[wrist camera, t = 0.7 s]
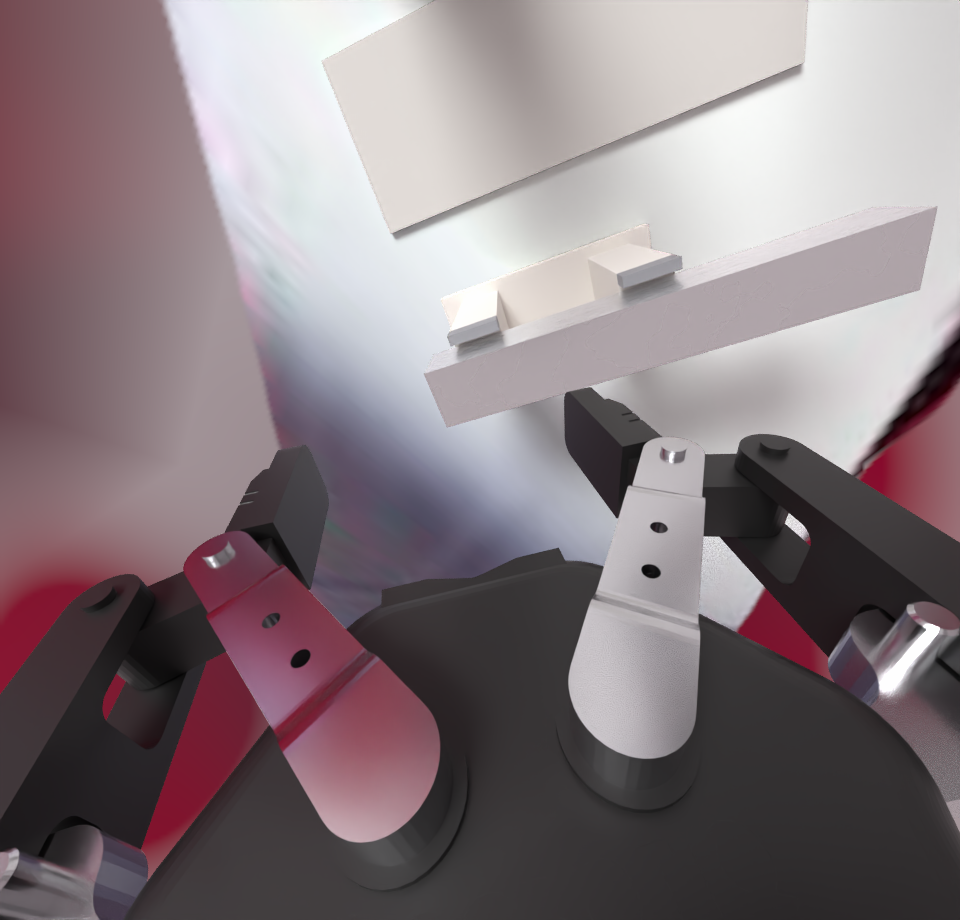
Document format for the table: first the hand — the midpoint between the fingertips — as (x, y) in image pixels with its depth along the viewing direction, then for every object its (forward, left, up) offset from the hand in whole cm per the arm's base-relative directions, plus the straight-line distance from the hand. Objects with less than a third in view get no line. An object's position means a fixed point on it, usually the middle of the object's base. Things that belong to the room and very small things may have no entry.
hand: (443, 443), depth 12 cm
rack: (+2, +5, -24) cm, 24 cm away
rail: (+2, +9, -14) cm, 17 cm away
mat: (-12, +9, -24) cm, 28 cm away
